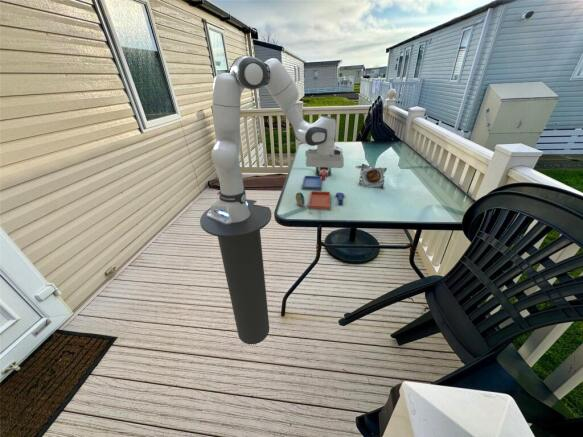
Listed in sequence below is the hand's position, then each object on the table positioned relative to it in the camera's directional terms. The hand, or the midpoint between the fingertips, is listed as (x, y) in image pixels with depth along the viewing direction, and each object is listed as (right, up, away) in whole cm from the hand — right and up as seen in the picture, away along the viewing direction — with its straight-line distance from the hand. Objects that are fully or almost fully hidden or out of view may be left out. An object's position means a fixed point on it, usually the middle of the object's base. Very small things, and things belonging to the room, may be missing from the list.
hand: (323, 174), depth 134 cm
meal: (+33, -4, +21) cm, 39 cm away
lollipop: (-11, -16, -3) cm, 20 cm away
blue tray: (-4, -2, +25) cm, 26 cm away
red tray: (-2, -14, +4) cm, 15 cm away
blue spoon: (+10, -14, +5) cm, 18 cm away
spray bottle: (+5, +7, +40) cm, 41 cm away
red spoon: (0, 0, +3) cm, 3 cm away
